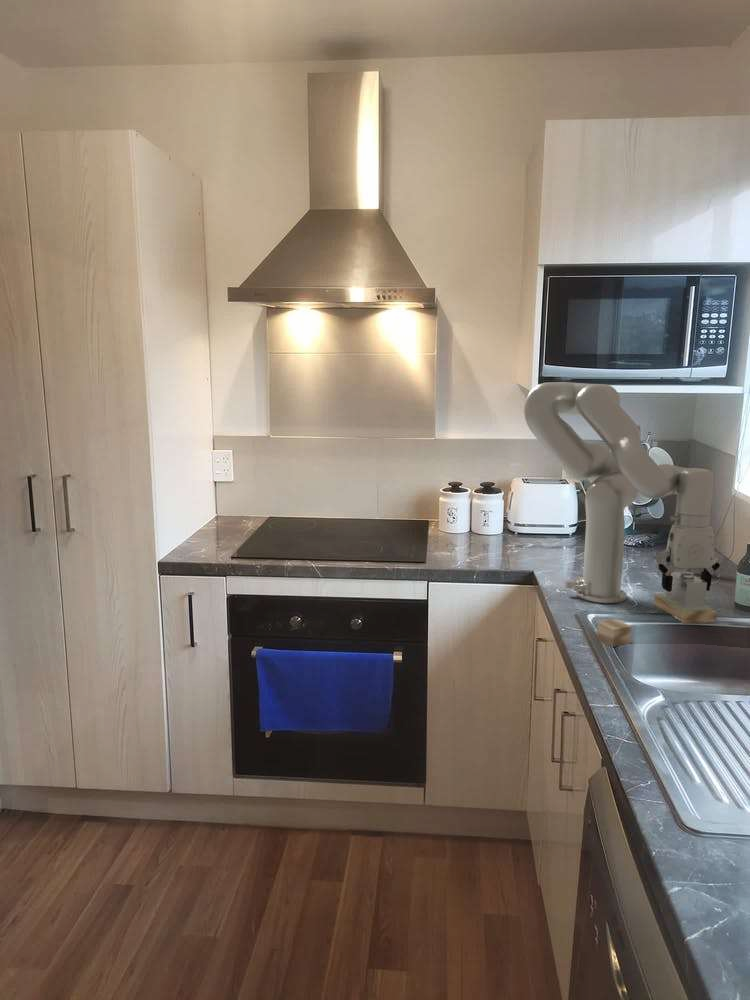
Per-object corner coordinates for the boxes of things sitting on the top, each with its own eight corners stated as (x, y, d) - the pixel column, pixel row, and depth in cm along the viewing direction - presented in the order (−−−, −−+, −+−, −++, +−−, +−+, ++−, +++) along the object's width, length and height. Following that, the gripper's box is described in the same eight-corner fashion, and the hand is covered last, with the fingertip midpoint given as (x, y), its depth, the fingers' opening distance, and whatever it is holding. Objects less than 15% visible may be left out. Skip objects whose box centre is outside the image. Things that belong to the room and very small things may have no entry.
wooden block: (683, 623, 167) (684, 611, 166) (654, 603, 180) (654, 592, 180) (715, 622, 167) (716, 610, 167) (684, 602, 181) (685, 591, 181)
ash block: (612, 647, 152) (613, 629, 152) (596, 639, 157) (597, 621, 156) (630, 644, 154) (631, 626, 154) (614, 636, 159) (615, 618, 158)
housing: (665, 595, 177) (667, 568, 176) (684, 594, 178) (686, 567, 177) (684, 607, 169) (687, 578, 167) (704, 606, 169) (707, 578, 168)
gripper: (665, 524, 165) (659, 595, 168) (735, 523, 167) (728, 593, 170) (649, 517, 172) (644, 585, 176) (717, 516, 174) (710, 584, 177)
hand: (685, 589), depth 173 cm, fingers open, 9 cm apart
